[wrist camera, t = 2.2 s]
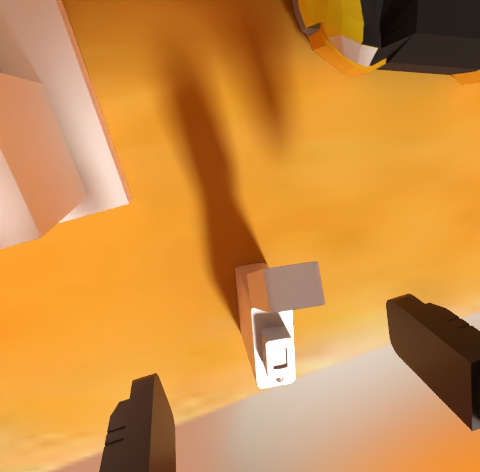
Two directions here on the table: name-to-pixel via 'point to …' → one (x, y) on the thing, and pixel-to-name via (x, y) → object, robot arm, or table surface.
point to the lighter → (274, 315)
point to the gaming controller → (395, 35)
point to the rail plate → (64, 94)
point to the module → (33, 164)
